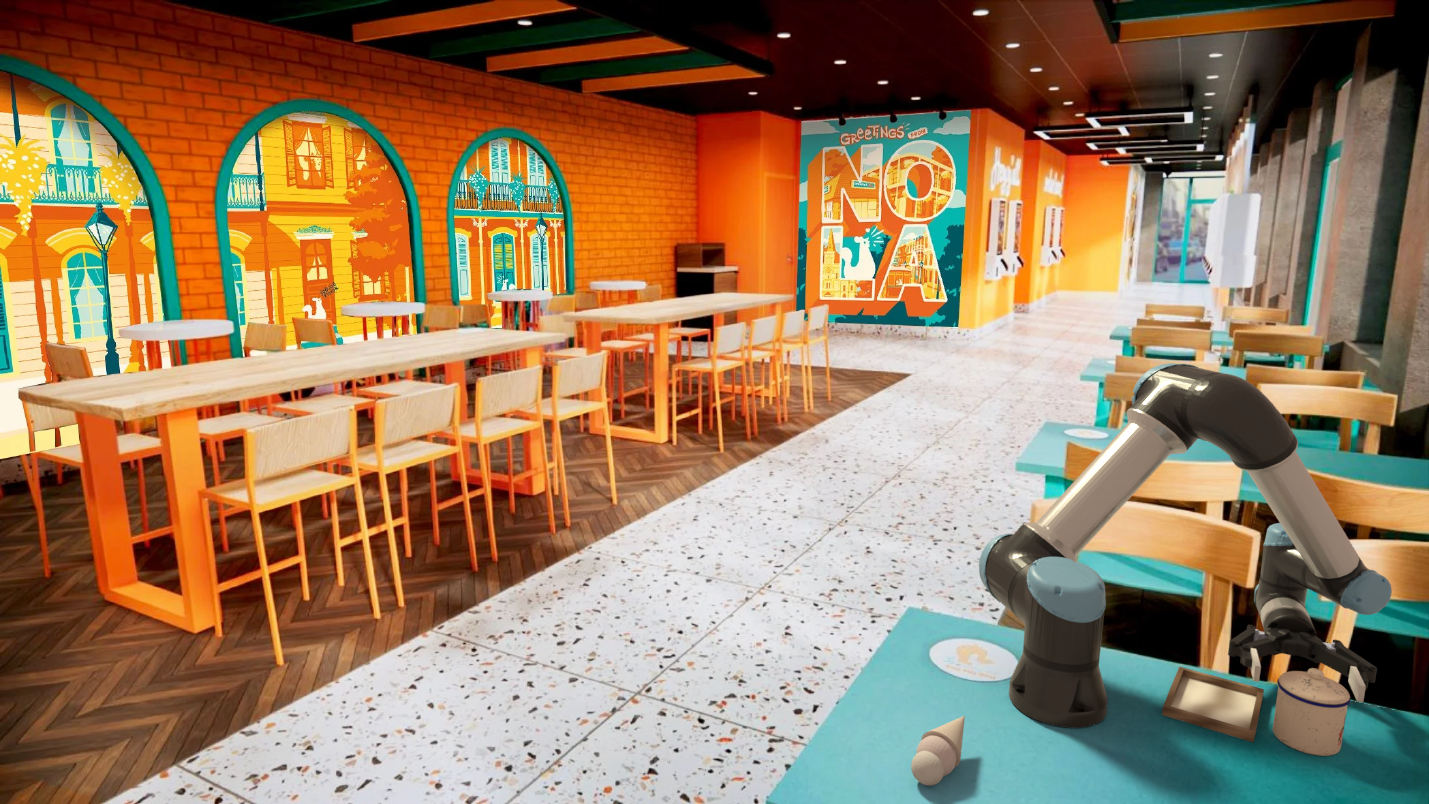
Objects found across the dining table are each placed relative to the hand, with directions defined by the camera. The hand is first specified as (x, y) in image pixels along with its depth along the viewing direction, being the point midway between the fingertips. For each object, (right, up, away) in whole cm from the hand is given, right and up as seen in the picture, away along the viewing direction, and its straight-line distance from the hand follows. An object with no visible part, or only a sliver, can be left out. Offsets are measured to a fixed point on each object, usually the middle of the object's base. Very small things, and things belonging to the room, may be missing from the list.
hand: (1308, 683), depth 132 cm
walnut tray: (-11, -6, +6) cm, 14 cm away
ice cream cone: (-60, -9, -8) cm, 61 cm away
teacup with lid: (-2, -7, -2) cm, 8 cm away
